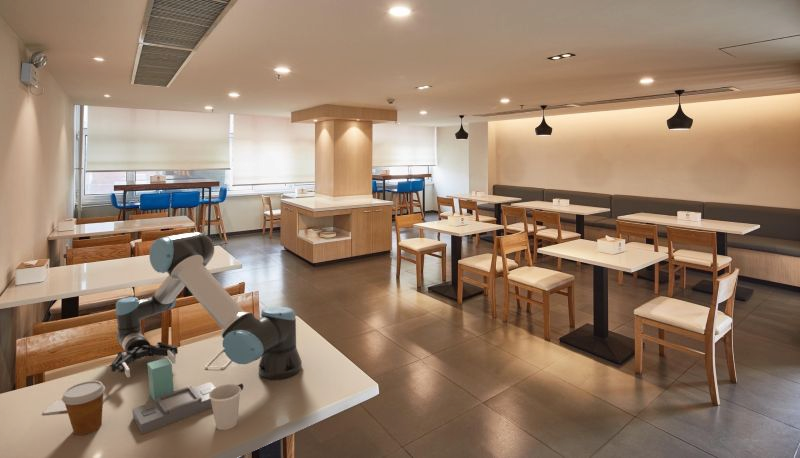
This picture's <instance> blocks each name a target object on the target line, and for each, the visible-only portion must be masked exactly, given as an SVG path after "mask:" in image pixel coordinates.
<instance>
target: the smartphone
mask: <svg viewBox="0 0 800 458" xmlns="http://www.w3.org/2000/svg"><path fill="white" fill-rule="evenodd" d="M108 398H109V394H108V393H103V404H104V403H105V402H106V401H107V399H108ZM61 413H62V414H64V413H68V412H67V409H66V406H65V403H64V402H63V401H62V399H57V400H54V401H53V402H52V403H50V404H49V406H47V407H46V409H44V410H43V412H42V415H44V416H46V415H55V414H61Z"/></svg>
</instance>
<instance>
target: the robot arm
mask: <svg viewBox="0 0 800 458" xmlns="http://www.w3.org/2000/svg"><path fill="white" fill-rule="evenodd" d="M214 245H215V244H214V242H213V240H212V239H211V238H210V237H209V236H208V235H207V234H205V233H203V232H198V231H192V232H187V233H181V234H174V235H170V236H169V235H167V236H164V237H159V238H156V239H155V240H153V242H152V243H151V245H150V248H149V253H148V254H149V257H148V258H149V262H150V265H151V267H152V269H153V270H154V271H155V272H157V273H162V274H165V273H167V274H168V275H167V277H166V278H165V280H163V282H162V283H161V284H160V285H159V287H158V288H157V289H156V290H155V292H154V293H153V294H152V295H151V296H149V297H144V298H141V299H139V298H138V297H134V296H130V297H124V298H123V297H122V298H121V299H119V300H117V301H116V303H115V314H116V315H115V317H116V323H117V333H116V341H117V343H118V344H119V345H120V346H121V347H122V349H123V350H124V352H125V353H124V352H121V351H119V352H117V356H116V357H115V359H113V361H112V362H111V364H110V370H111V372H116V371H117V370H118V373H119V374H122V373H124V374H125V376H126V377H127V378H131V374H130V373H131V372H130V371H131V370H130V368H129V365H130V364H131V363H132V362H133V363H134V362H135V361H136V360H140V359H142V358H145V357H154V356H160V357H167V359H168V360H169V361H170V362H171V363H172V365H175V364H177V363H176V355H177V354H178V353H179V352H178V351H179V350H178V346H176V345H172V344H166V343H162V342H160V341H159V342H157V343H156V344H155V345H152V344H151V343H150V342H149V341H148V339H147V338H146V337H145V336H144V335H143V333H142V326H141V325H142V324H141V323H142V322H141V320H143V319H146V318H149V317H151V316H155V315H157V314H161V313H165V312H168V310H171V309H173V308H174V307H175V306H176V302H177V301H176V298H177V297H178V295H179V294H180V293H181V292H182V290H184V288H185V287H186V288H187V289H188V291H189V292H190V294H191V295H192V296H193V297H194V298H195V299H196V300H197V301H198V303H199V304H200V305H201V306H202V307H203V309H204V310H206V312H207V313H208V314H209V316H210V317H211V318H212V319H213V320H214V321H215V322H216V324H218V326H219V327H220V329H221V330H222V332H221V338H222V339H223V340H222V347H223V349H224V351H223V352H224V354H225V356H226V357H227V358H228V359H229V360H232V361H231V362H233V363H235V364H237V365H248V364H250V363H252V362H255V361H259V363H258V374H259V376H260V377H262V378H264V379H267V380H283V379H284V380H285V379H288V378H290V377H293V376H296V375H297V374H299V373H300V372H301V370H302V368H303V363H302V359H301V356H300V353H299V350H298V348H297V323H296V322H297V319H296V312H295V310H294V309H292V308H290V307H286V306H270V307H266V308H263V309H262V310H261V312H260V313H261V314H260V315H261V317H260V318H257V317H256V316H255V315H254V314H253V313H252V312H251V311H249V312H248V311H245V310H244V309H242V307H241V306H240V305H239V304H238V303H237V302H236V300H235V299H234V298H233V297H232V295H230V293H229V292H228V291H227V290H226V289H225V288H224V286H222V284H221V283H220V282H219V281H218V280H217V279H216V277H214V275H213V274H212V273H211V272H210V271H209V270H208V268H207V267H206V266H207V265H208V264H209V263H210V262H211V260H212V258H213V256H214V254H215V246H214ZM259 359H260V360H259Z"/></svg>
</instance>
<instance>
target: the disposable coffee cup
mask: <svg viewBox="0 0 800 458" xmlns="http://www.w3.org/2000/svg"><path fill="white" fill-rule="evenodd" d="M105 390H106V386H105V385H104V383H102V381H100V380H87V381H82V382H79V383H76V384H74V385H71V386H70V387H68V388H66V390H65V391H63V395H62V397H61V400H62V401H63V402H64V403H65V406H66V409H67V412H66V413H67V416H68V418H69V421H70V424H71V428H72V431H73V434H74V435H77V436H83V435H84V436H85V435H88V434H91V433H93V432H95V431H97V430H99V428H101V427H102V424H103V406H104V405H103V404H104V403H103V394H104V393H105Z"/></svg>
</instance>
